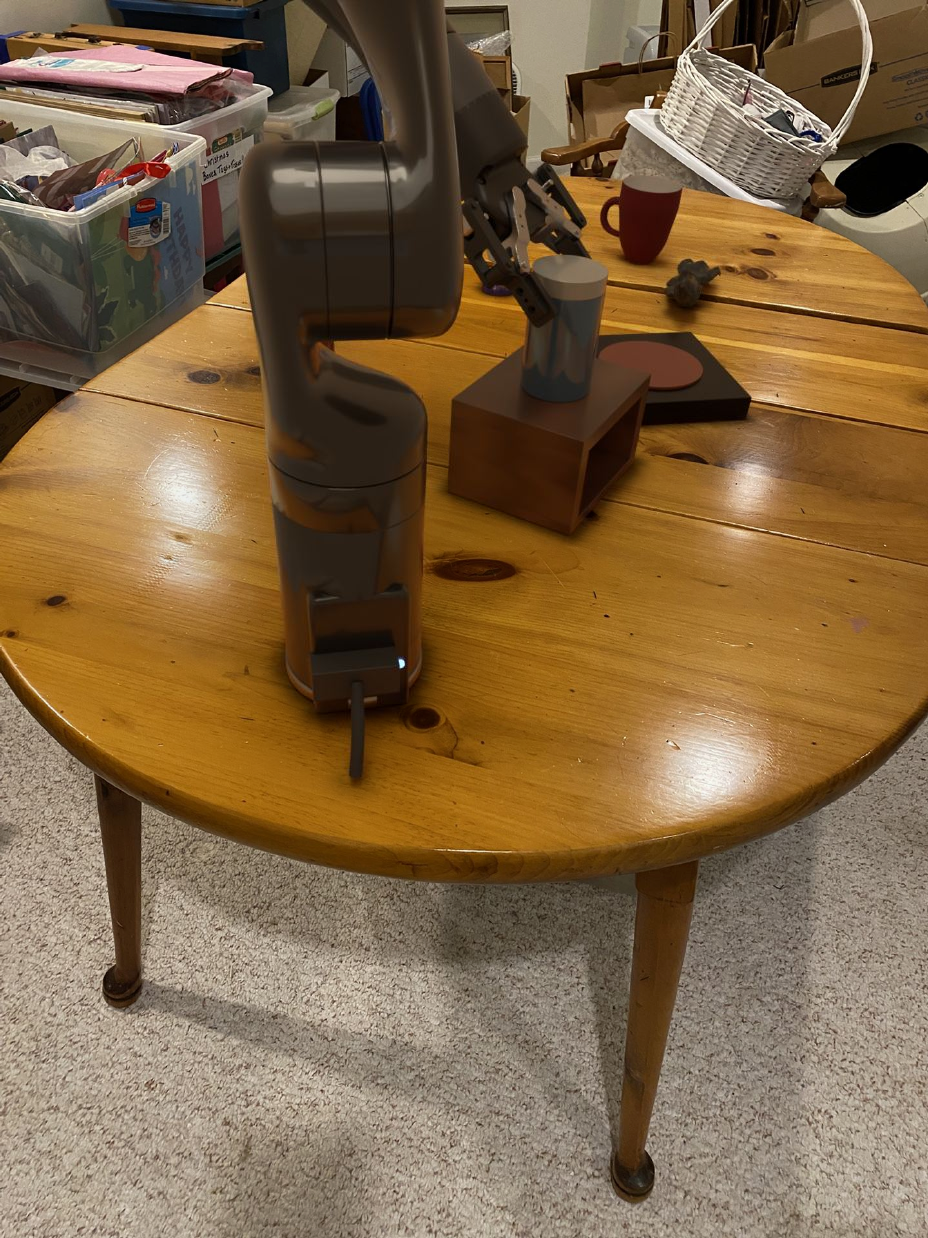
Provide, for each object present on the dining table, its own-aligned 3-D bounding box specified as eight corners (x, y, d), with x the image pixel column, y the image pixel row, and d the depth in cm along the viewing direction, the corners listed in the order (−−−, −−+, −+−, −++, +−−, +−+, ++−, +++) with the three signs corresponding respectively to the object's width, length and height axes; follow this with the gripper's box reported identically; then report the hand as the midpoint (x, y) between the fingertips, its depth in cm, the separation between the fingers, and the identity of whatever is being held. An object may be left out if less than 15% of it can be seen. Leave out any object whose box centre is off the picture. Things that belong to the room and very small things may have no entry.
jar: (599, 400, 77) (619, 281, 70) (530, 404, 76) (543, 283, 69) (578, 368, 81) (594, 253, 75) (512, 371, 80) (523, 255, 74)
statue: (672, 294, 127) (656, 319, 110) (675, 251, 125) (658, 270, 108) (720, 293, 125) (711, 319, 108) (723, 250, 123) (714, 270, 106)
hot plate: (745, 419, 95) (752, 394, 93) (598, 428, 92) (603, 402, 90) (686, 351, 107) (691, 328, 105) (553, 357, 104) (556, 333, 102)
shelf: (633, 461, 87) (651, 373, 81) (569, 536, 78) (584, 441, 72) (521, 425, 91) (530, 338, 86) (446, 491, 82) (451, 398, 76)
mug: (587, 260, 128) (597, 183, 121) (600, 242, 134) (611, 168, 127) (662, 273, 125) (677, 196, 119) (672, 255, 131) (687, 180, 125)
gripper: (438, 102, 63) (568, 308, 66) (531, 72, 72) (641, 253, 76) (373, 171, 68) (498, 358, 72) (469, 134, 78) (574, 300, 81)
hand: (571, 304), depth 74 cm, fingers open, 8 cm apart
